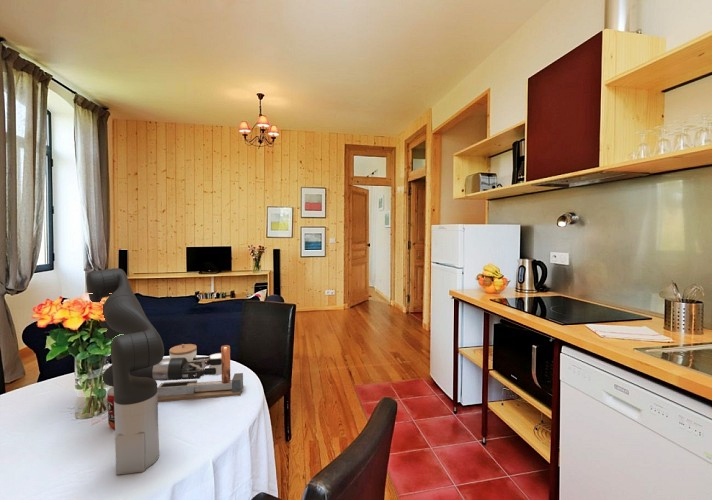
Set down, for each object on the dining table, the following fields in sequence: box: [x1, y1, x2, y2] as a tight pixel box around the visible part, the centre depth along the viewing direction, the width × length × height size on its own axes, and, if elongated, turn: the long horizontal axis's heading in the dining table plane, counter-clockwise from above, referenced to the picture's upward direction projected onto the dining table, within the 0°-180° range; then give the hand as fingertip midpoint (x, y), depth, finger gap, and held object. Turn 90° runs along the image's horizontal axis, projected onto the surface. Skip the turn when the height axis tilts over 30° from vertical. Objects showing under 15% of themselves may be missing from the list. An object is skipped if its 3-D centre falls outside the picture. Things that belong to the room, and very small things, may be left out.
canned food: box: [106, 386, 115, 430], centre depth 104 cm, size 8×8×11 cm
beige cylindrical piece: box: [208, 352, 222, 376], centre depth 141 cm, size 7×7×7 cm
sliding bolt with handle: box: [187, 344, 232, 392], centre depth 122 cm, size 3×18×16 cm, turn 101°
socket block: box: [231, 372, 244, 393], centre depth 124 cm, size 6×3×4 cm, turn 11°
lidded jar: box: [168, 343, 197, 362], centre depth 147 cm, size 11×11×9 cm
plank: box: [158, 386, 244, 403], centre depth 122 cm, size 7×28×1 cm, turn 101°
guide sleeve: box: [157, 379, 198, 398], centre depth 120 cm, size 5×12×3 cm, turn 101°
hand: (218, 366), depth 122 cm, fingers open, 8 cm apart
